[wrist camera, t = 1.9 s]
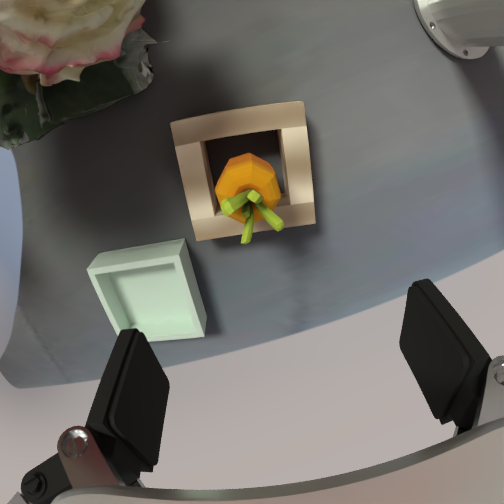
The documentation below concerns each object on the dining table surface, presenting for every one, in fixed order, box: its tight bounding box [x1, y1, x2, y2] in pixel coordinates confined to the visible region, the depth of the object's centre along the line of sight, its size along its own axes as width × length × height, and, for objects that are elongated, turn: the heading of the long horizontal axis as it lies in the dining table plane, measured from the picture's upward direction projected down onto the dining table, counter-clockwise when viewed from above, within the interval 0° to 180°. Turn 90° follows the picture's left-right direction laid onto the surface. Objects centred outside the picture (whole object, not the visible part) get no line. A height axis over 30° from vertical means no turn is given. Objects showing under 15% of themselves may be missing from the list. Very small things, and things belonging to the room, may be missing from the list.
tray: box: [87, 238, 207, 342], centre depth 36 cm, size 12×12×4 cm
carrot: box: [215, 153, 284, 244], centre depth 25 cm, size 5×5×15 cm
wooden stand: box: [170, 101, 315, 241], centre depth 30 cm, size 12×12×4 cm
